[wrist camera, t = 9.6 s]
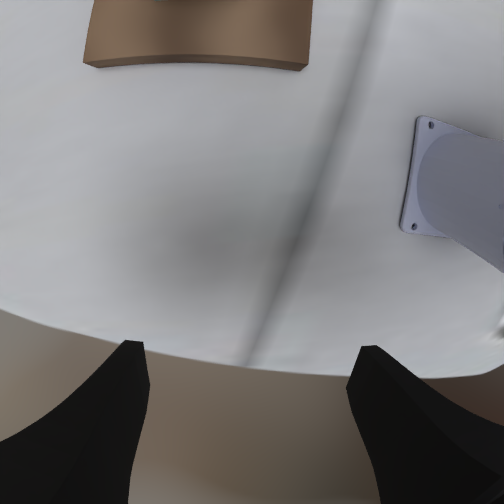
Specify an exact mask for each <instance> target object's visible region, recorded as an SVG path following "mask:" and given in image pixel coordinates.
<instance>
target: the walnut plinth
mask: <svg viewBox="0 0 504 504" xmlns="http://www.w3.org/2000/svg"><path fill="white" fill-rule="evenodd" d="M312 5H313V0H159V1H154V0H94V4H93V9H92V13H91V18H90V23H89V28H88V33H87V39H86V45H85V51H84V58H83V63H85V64H88V65H90V66H93V67H96V68H101V67H110V66H119V65H131V64H145V63H170V62H203V63H228V64H243V65H255V66H264V67H273V68H281V69H289V70H296V71H301V70H302V69H303V68H305V67H306V66H307V65H308V61H309V48H310V35H311V21H312Z"/></svg>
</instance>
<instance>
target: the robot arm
mask: <svg viewBox="0 0 504 504" xmlns="http://www.w3.org/2000/svg"><path fill="white" fill-rule="evenodd" d="M429 122H430V123H431V128H429V126H428V124H429ZM413 223H415V225H414V227H413V228H411V226H412V224H413ZM400 227H401V229H402V231H404V232H406V233H413V234H422V235H430V236H439V237H447V238H452V239H453V240H455V241H456V242H458V243H460V244H461V245H463V246H464V247H466V248H467V249H469V250H470V251H472V252H473V253H475V254H476V255H478V256H479V257H481V258H482V259H484V260H485V261H487V262H488V263H490V264H491V265H493V266H494V267H495V268H497V269H498V270H500V271H501V272H502V273H504V141H502V140H496V139H490V138H484V137H480V136H477V135H475V134H473V133H470V132H468V131H465V130H463V129H460V128H458V127H455V126H452V125H450V124H447V123H444V122H441V121H439V120H436V119H433V118H430V117H427V116H420V117H419V118H418V119H417V124H416V133H415V141H414V149H413V156H412V163H411V170H410V176H409V182H408V188H407V193H406V198H405V204H404V209H403V214H402V218H401V223H400ZM149 390H150V382H149V376H148V371H147V364H146V358H145V351H144V344H143V342H140V341H130V340H125V341H124V342H122V343H121V344H120V346H119V347H118V348H117V349H116V350H115V351H114V352H113V353H112V354H111V355H110V356H109V357H108V358H107V359H106V361H105V362H104V363H103V364H102V365H101V366H100V367H99V368H98V369H97V370H96V371H95V372H94V373H93V374H92V375H91V376H90V377H89V378H88V379H87V380H86V381H85V382H84V383H83V384H82V385H81V386H80V387H78V388H77V389H76V390H75V391H74V392H73V393H72V394H71V395H70V396H69V397H68V398H66V399H65V400H64V401H63V402H62V403H60V404H59V405H58V406H57V407H55V408H54V409H53V410H52V411H50V412H49V413H48V414H46V415H45V416H44V417H42V418H41V419H39V420H38V421H36V422H34V423H33V424H31V425H30V426H28V427H26V428H25V429H23V430H22V431H20V432H18V433H17V434H15V435H13V436H11V437H9V438H7V439H5V440H3V441H1V442H0V504H128V496H129V486H130V476H131V471H132V466H133V461H134V458H135V454H136V450H137V445H138V442H139V438H140V434H141V431H142V427H143V423H144V419H145V415H146V411H147V404H148V397H149ZM346 390H347V394H348V399H349V403H350V407H351V411H352V413H353V416H354V419H355V421H356V424H357V426H358V429H359V432H360V434H361V437H362V439H363V442H364V444H365V446H366V449H367V452H368V455H369V457H370V460H371V463H372V466H373V469H374V472H375V477H376V481H377V486H378V490H379V496H380V501H381V504H504V426H502V425H499V424H496V423H493V422H491V421H489V420H486V419H484V418H482V417H479V416H477V415H475V414H473V413H471V412H469V411H468V410H466V409H464V408H462V407H460V406H459V405H457V404H455V403H453V402H452V401H450V400H449V399H447V398H446V397H444V396H443V395H441V394H440V393H438V392H437V391H435V390H434V389H433V388H431V387H430V386H429V385H427V384H426V383H425V382H423V381H422V380H421V379H419V378H418V377H417V376H415V375H414V374H413V373H412V372H410V371H409V370H408V369H407V368H405V367H404V366H403V365H402V364H400V363H399V362H398V361H397V360H395V359H394V358H393V357H392V356H390V355H389V354H388V353H387V352H385V351H384V350H383V349H381V348H380V347H378V346H377V345H372V346H361V349H360V352H359V354H358V357H357V360H356V363H355V365H354V368H353V371H352V373H351V376H350V378H349V381H348V384H347V386H346Z"/></svg>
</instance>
